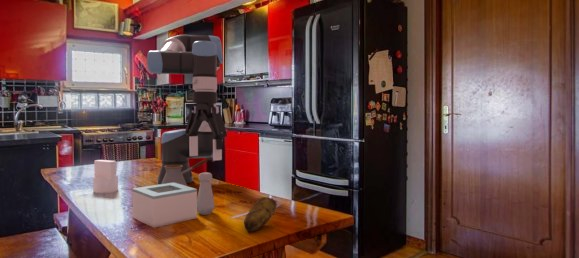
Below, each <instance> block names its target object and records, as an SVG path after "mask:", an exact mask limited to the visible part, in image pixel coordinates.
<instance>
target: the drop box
mask: <svg viewBox="0 0 579 258" xmlns="http://www.w3.org/2000/svg"><path fill="white" fill-rule="evenodd" d="M131 197H132V202H131V203H132V218H133V219H135V220H137V221H139V222H141V223H143V224H145V225H147V226H150V228H151V227H152V228H153V229H155V228H158V227H164V226H169V225H172V224H177V223H182V222H185V221H190V220H194V219H198V210H197V199H198V189H197V188H194V187H191V186H188V185H187V186H185V185H181V184H178V183H174V182H173V183H167V184H154V185H148V186H147V185H146V186H141V187H133V188H131Z"/></svg>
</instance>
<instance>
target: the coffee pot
mask: <svg viewBox="0 0 579 258" xmlns="http://www.w3.org/2000/svg"><path fill="white" fill-rule="evenodd" d="M209 161H211V162H213V163H214V160H213V158H212V157H210V158H205V159H204V160H201V161H199V162H197V163H196V164H194V165H191V167H190V168H189V169H187V170H185V171H183V172H181V168H182V167H183V166H182V165H166V166H164V168H165V169H166V174H165V176H164V179H163V181H162V183H161V184H167V183H173V182H174V183H178V184H181V185H185V186H188V183H187V184H186V182H185V179H184V177H183V174H184V173H186V172H188V171H190V170H191V171H192V170H194V169H196V168H198V167H200V166H202V165H204V164H205V163H206V162H209Z"/></svg>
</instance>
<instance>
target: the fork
mask: <svg viewBox="0 0 579 258" xmlns="http://www.w3.org/2000/svg"><path fill="white" fill-rule="evenodd" d="M276 204H277V205H276V209H278V207H280V206H281V205H283V202H281V201H277V202H276ZM248 213H249V211H248V212H244V213H241V214H238V215H234V216H231V219H237V218H240V217H243V216H244V217H245V216H247V214H248ZM236 217H237V218H236Z"/></svg>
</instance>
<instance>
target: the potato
mask: <svg viewBox="0 0 579 258" xmlns="http://www.w3.org/2000/svg"><path fill="white" fill-rule="evenodd" d="M276 205H278V204H277V202H276V200H274V198H271V197H269V196H268V197H266V196H264V197H260V198H257V200H256V202H255V203H254V204H253V206H252V207H251V208H250V210H249V211H248V212H249V213H248V214H247V215H245V216H244V217H245V218H244V220H243V226H244V228H245V230H246V231H247V232H249V233H253V232H256V231H257V230H259V229H260V228H261V227H264V225H266V224H267V223H268V221H270V219H271V218H272V217H273V216H274V215H275V213H276V212H277V208H276V207H277V206H276Z"/></svg>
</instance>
